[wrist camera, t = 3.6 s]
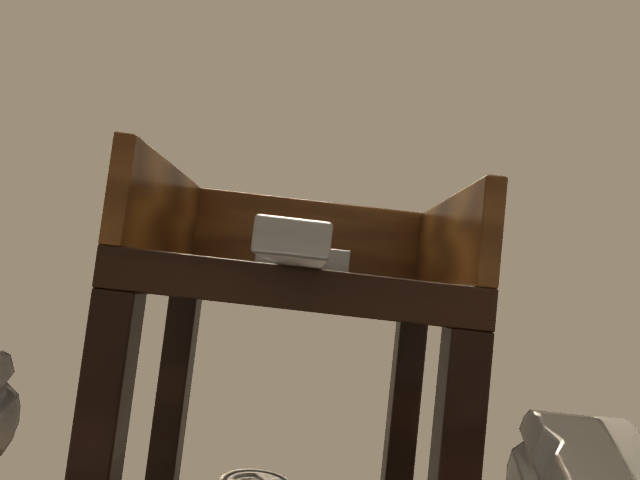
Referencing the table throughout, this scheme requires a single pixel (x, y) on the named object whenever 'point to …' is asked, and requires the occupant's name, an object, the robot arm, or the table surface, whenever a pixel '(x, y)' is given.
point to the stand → (286, 305)
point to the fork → (297, 243)
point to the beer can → (252, 475)
